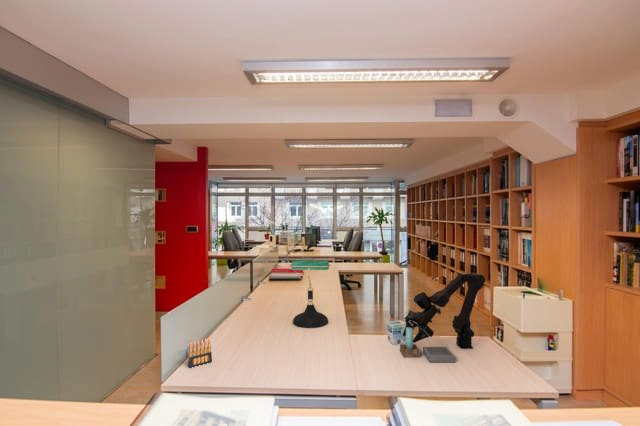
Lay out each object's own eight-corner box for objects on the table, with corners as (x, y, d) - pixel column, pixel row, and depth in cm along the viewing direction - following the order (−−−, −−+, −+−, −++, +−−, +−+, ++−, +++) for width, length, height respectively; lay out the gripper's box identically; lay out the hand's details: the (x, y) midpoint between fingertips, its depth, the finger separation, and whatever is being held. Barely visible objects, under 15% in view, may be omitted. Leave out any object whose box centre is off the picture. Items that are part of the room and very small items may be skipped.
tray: (446, 352, 176) (446, 346, 176) (455, 362, 164) (455, 356, 164) (422, 352, 176) (422, 346, 176) (429, 362, 164) (429, 356, 164)
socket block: (415, 350, 179) (415, 344, 179) (419, 357, 171) (419, 350, 171) (400, 351, 179) (399, 344, 179) (403, 357, 171) (403, 350, 171)
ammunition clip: (210, 361, 169) (210, 336, 169) (212, 362, 167) (211, 337, 167) (188, 367, 162) (187, 341, 162) (189, 368, 161) (189, 342, 161)
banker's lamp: (332, 317, 237) (331, 258, 237) (329, 328, 214) (329, 263, 214) (293, 316, 239) (292, 258, 239) (287, 327, 217) (286, 263, 217)
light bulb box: (392, 345, 187) (392, 324, 187) (387, 340, 193) (386, 321, 193) (410, 342, 190) (410, 323, 190) (404, 338, 196) (404, 319, 196)
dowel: (412, 352, 176) (412, 327, 176) (414, 355, 173) (413, 329, 173) (405, 352, 176) (405, 327, 176) (407, 355, 173) (406, 329, 173)
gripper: (407, 300, 185) (388, 323, 182) (428, 309, 167) (407, 334, 164) (420, 313, 187) (402, 336, 184) (442, 324, 169) (422, 349, 166)
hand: (408, 338), depth 174 cm, fingers open, 9 cm apart
